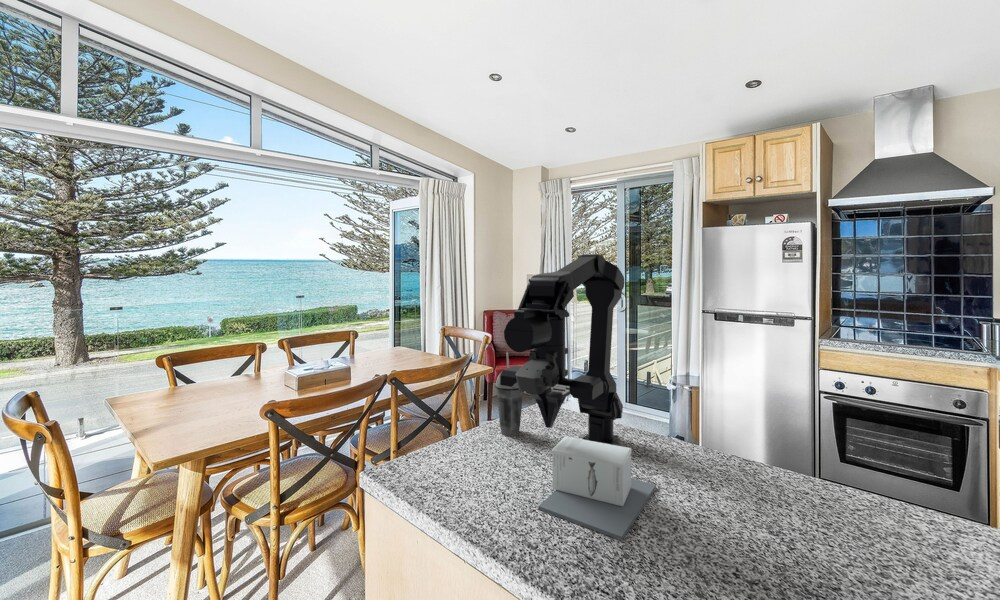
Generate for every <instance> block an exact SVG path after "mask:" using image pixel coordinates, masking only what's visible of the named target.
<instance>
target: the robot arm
mask: <svg viewBox="0 0 1000 600" xmlns="http://www.w3.org/2000/svg"><path fill="white" fill-rule="evenodd" d="M580 286H583V287H584V289H585V293H584V294H585V297H586V300H587V302H588V303H589V304H590V306H591V317H590V331H589V332H590V334H589V335H590V336H589V337H590V338H589V351H588V353H589V354H588V367H587V368H588V369H587V371H586V373H585V375H583V374H581V375H579V376H576V378H566V377H567V376H569V369H566V355H567V354H569V348H568V347H566V318H569V317H570V312H569V311H568V310H567V309H566V308H567V305H568V304H569V303H570V302H571V301H572V300H573V298H574V297H575V293H574V291H575V289H577V288H578V287H580ZM624 287H625V276H624V274H623V273H622V271H621V269H620V268H619V267H618V266H616V265H615V264H613V263H612V262H610V261H608V260H607V259H606V257H604V255H602V254H599V253H590V254H581V255H579V256H578V257H577V258H576V259H574V260H573V261H572V262H569V263H568V264H566V265H565V266H563V267H561V268H560V269H558V270H557V271H550V272H542V273H538V274H534V275H532V276H531V277H530V278H529V281H528V283H527V286H526V288H525V291H524V293H523V295H522V298H521V301H520V303H519V306H518V308H517V310H516V309H515V310H514V312H513V316H514V317H513V318H511V319H510V320H509V321H508V322H507V324H506V325H505V328H504V330H503V337H504V340H505V344H507V347H509V349H510V350H512V351H513V352H516V353H523V352H527V351H529V354H528V356H529V358H528V361H527V362H524V364H523V365H512V366H509V368H507V367H506V368H504V369H502V370H501V372H500V373H501V374H500V373H499V374H500V385H504V386H509V387H513V386H514V385H515V384H516V383H517V384H518V388H519V391H521V392H523V393H524V392H525V393H526V394H527V395H530V396H531V397H532V398H533V399H534V401H535V402H536V404H537V406H538V409H539V411H540V414H541V416H542V419H543V423H544V426H545V427H546V428H548V429H551V428H552V427H553V426H554V424H555V422H556V419H557V416H558V414H559V412H560V410H561V408H562V405H563V403H564V401H565V399H566V398H567V397H568V396H570V395H571V396H572V398H573V399H577V404H578V408H579V412H580V414H585V415H588V417H587V422H588V423H587V428H588V429H587V434H586V435H585V436H584V437H582V439H583V440H589V441H594V442H600V443H605V444H611V445H614V443H615V442H616V441H617V440H619V438H620V437H619V436H618V435H617V434H614V422H615V420H616V419H622V418H623V409H624V406H623V403H622V401H621V399H620V397H619V395H618V392H617V382H616V381H615V379H614V377H613V376H612V374H611V358H612V356H611V355H612V342H613V341H612V339H613V337H612V336H613V320H614V308H615V307H616V305H618V303H619V302H620V300H621V298H622V294H623V290H624Z"/></svg>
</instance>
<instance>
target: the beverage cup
mask: <svg viewBox="0 0 1000 600" xmlns="http://www.w3.org/2000/svg"><path fill="white" fill-rule="evenodd" d="M505 354H506V369H507V368H510V357H509V352H508V351H506V353H505ZM500 374H501V372H500V373H499V374H498V376H497V377H496V380H495V386H494V387H495V393H496V395H497V405H498V406H497V408H498V418H499V427H500V434H501V435H503V436H506V437H512V436H514V437H515V436H517V435H519V434H520V430H521V429H520V428H521V419H522V408H523V406H522V405H523V396H524V392H521V391H519V388H518V384H517V383H516V384H515V385H514V386H513V387H509V386H504V385H500Z"/></svg>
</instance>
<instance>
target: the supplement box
mask: <svg viewBox="0 0 1000 600" xmlns="http://www.w3.org/2000/svg"><path fill="white" fill-rule="evenodd" d="M551 458H552V463H551V464H552V467H551V468H552V469H551V471H552V473H551V475H552V481H551V488H552V490H554V491H555V490H559V491H563V492H567V493H571V494H575V495H579V496H583V497H587V498H591V499H595V500H599V501H603V502H607V503H611V504H615V505H619V506H623V505H624V503H625V501H626V498H627V496H628V494H629V491H630V488H631V478H632V448H631V447H626V446H620V445H616V444H612V445H611V444H605V443H600V442H594V441H589V440H583V438H577V437H572V436H566V435H564V437H562V439H561V440H560V441H559V442H558V443H556V445H555V446H554V447H552V449H551Z"/></svg>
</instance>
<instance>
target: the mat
mask: <svg viewBox="0 0 1000 600" xmlns="http://www.w3.org/2000/svg"><path fill="white" fill-rule="evenodd" d="M656 489H657V485H656V484H653V483H650V482H646V481H644V480H640V479H636V478H632V477H631V488H630V491H629V494H628V496H627V498H626V501H625V503H624V505H623V506H619V505H615V504H611V503H607V502H603V501H599V500H595V499H591V498H587V497H583V496H579V495H575V494H571V493H567V492H563V491H559V490H555V489H554V491H553V492H552V493H551V494H550V495H548V497H546V498H545V499H544V500H543V501H542V502H541V503H540V504H539V505H538V508H537V509H538V511H541V512H543V513H546V514H550V515H551V516H555V517H557V518H560V519H563V520H566V521H568V522H571V523H573V524H576V525H579V526H582V527H584V528H587V529H588V530H589V529H590V530H591V531H595V532H597V533H600V534H603V535H606V536H608V537H611V538H613V539H616V540H618V541H623V540H624V538H625V536H626V535H627V533H628V532H629V530H631V529H630V528H631V527H632V526H633V524H634V522H635V521H636V520H637V518H638V516H639V515H640V513H641V512H642V511H643V509H644V508H645V506H646V504H647V503H648V501H649V499H650V498H651V496H652V495H653V493H654V492H655V490H656Z"/></svg>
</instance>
